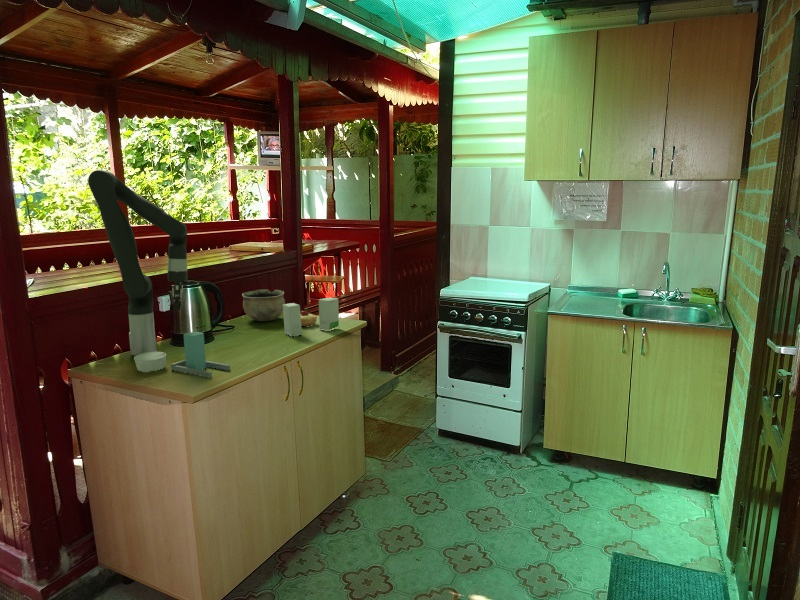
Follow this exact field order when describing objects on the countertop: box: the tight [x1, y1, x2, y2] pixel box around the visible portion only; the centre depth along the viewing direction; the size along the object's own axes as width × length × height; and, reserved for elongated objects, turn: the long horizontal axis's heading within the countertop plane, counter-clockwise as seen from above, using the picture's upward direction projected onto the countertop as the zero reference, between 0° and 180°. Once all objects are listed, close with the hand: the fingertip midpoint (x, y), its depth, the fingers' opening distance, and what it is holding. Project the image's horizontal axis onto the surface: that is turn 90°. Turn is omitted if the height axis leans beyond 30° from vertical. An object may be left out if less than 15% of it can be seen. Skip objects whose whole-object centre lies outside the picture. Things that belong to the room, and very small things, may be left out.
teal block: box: [183, 331, 207, 370], centre depth 199 cm, size 5×5×14 cm
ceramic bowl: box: [241, 289, 286, 322], centre depth 279 cm, size 22×22×15 cm
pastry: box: [300, 307, 318, 327], centre depth 269 cm, size 12×12×9 cm
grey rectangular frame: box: [170, 359, 231, 379], centre depth 199 cm, size 19×10×2 cm, turn 64°
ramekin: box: [133, 351, 167, 373], centre depth 200 cm, size 11×11×5 cm
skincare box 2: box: [318, 297, 340, 330], centre depth 260 cm, size 8×7×16 cm
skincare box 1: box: [282, 302, 303, 338], centre depth 250 cm, size 8×6×15 cm
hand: (177, 308), depth 219 cm, fingers open, 8 cm apart
